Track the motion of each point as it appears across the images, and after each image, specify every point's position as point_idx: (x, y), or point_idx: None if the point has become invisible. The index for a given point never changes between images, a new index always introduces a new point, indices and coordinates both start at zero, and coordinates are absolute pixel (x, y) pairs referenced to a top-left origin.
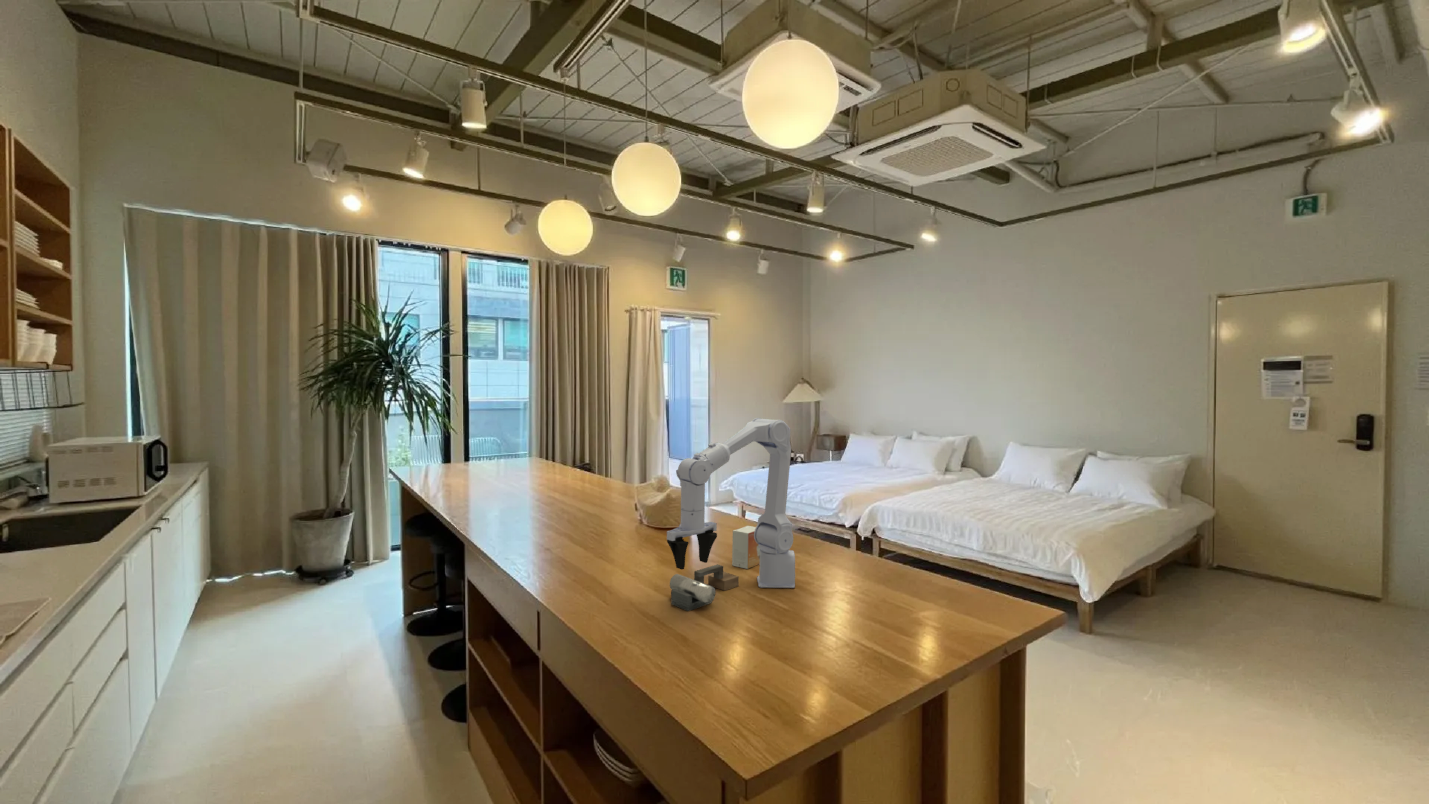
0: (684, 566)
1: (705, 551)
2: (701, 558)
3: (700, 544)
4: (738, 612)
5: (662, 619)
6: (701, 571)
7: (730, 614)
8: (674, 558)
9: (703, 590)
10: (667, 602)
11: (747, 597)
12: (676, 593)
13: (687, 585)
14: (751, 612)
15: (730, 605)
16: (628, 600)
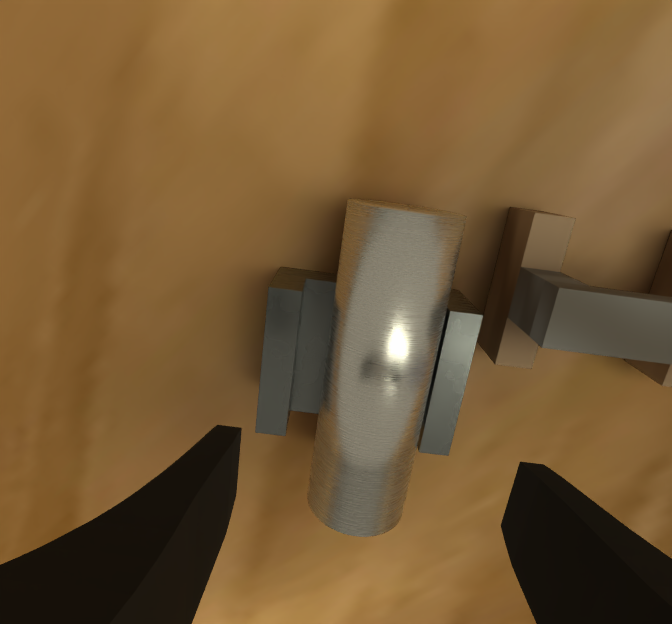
0: (227, 520)
1: (556, 618)
2: (525, 502)
3: (627, 612)
4: (408, 549)
5: (112, 361)
6: (582, 335)
7: (368, 538)
8: (170, 467)
9: (319, 507)
10: (288, 230)
11: (595, 491)
12: (264, 333)
13: (333, 379)
14: (441, 583)
15: (457, 487)
16: (143, 5)
